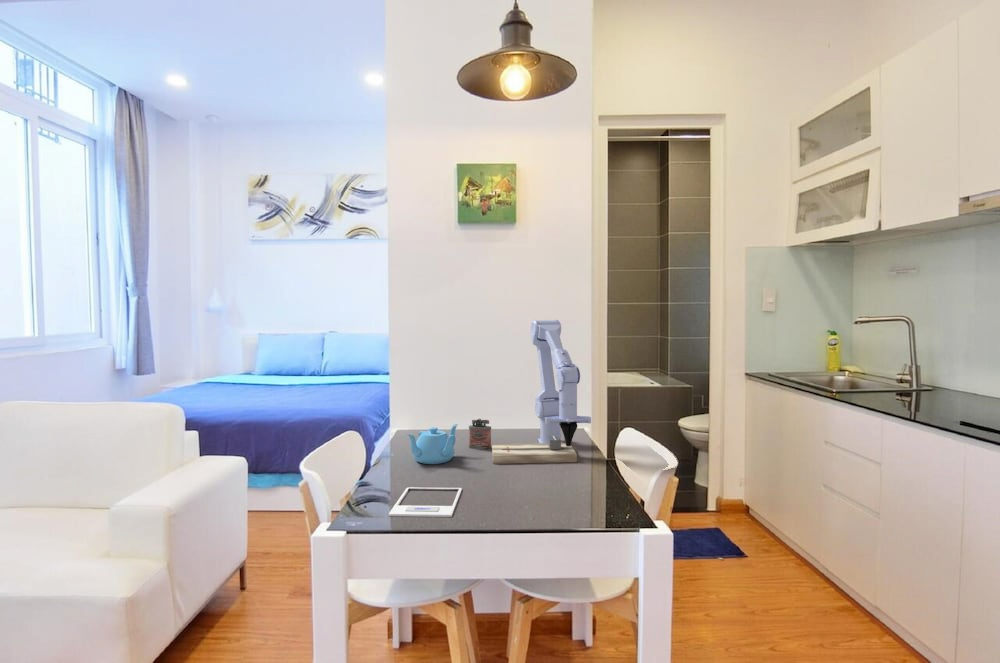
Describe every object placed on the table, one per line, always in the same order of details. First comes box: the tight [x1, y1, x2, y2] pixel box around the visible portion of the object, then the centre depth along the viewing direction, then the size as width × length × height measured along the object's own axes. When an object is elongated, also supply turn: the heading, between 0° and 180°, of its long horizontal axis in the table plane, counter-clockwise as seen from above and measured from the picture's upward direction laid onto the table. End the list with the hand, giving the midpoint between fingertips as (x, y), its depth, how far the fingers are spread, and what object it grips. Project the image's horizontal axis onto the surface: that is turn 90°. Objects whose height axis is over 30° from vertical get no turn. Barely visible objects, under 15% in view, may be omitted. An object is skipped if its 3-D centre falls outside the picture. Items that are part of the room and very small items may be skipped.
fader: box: [548, 436, 562, 449], centre depth 166 cm, size 5×4×3 cm
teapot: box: [406, 423, 459, 465], centre depth 163 cm, size 15×15×10 cm
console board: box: [491, 442, 578, 465], centre depth 165 cm, size 14×26×3 cm, turn 92°
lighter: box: [468, 418, 492, 451], centre depth 177 cm, size 8×3×10 cm, turn 73°
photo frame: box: [388, 486, 463, 518], centre depth 126 cm, size 15×1×18 cm
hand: (568, 445), depth 166 cm, fingers closed
